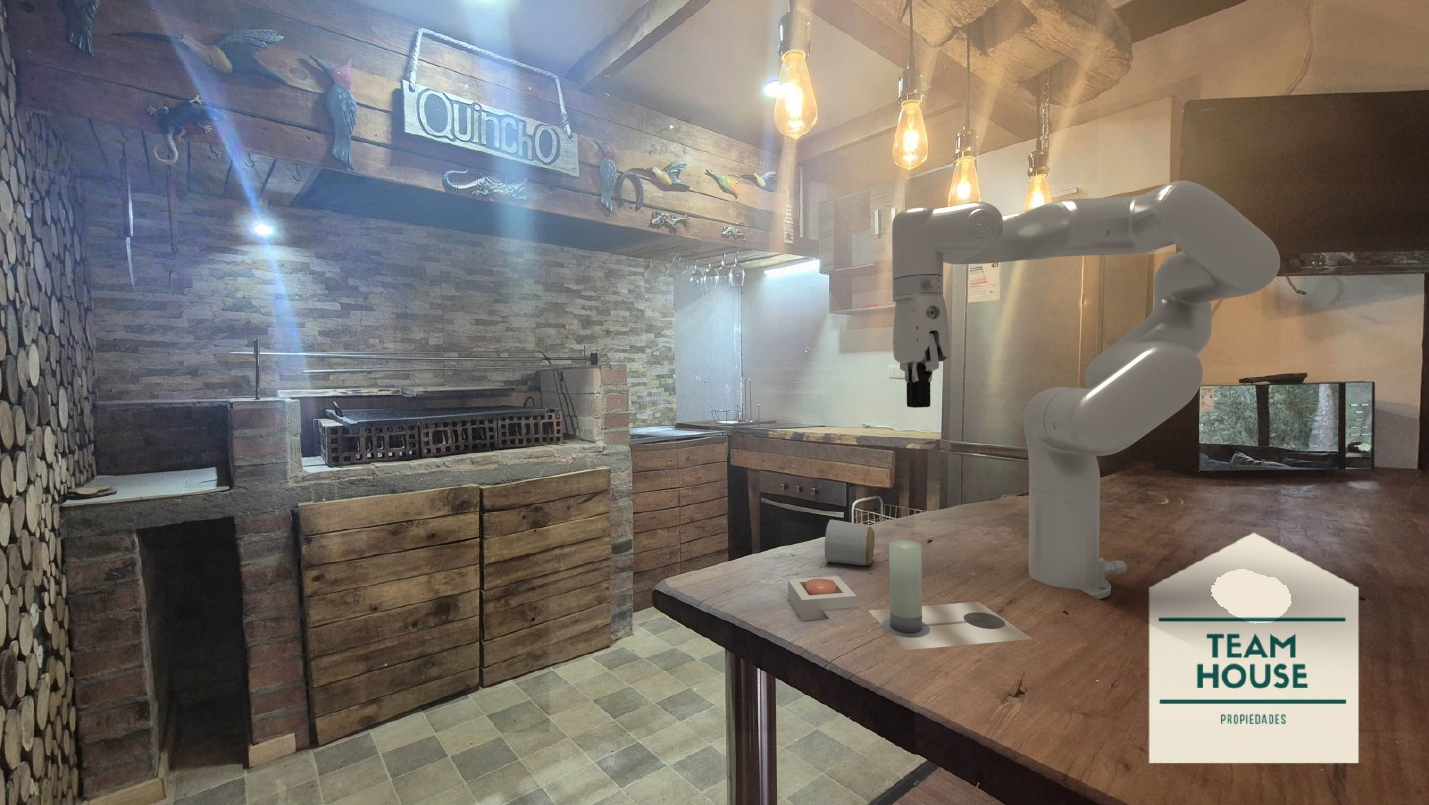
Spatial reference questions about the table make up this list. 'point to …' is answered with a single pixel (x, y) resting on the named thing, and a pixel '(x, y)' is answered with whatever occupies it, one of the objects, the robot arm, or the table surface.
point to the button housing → (819, 598)
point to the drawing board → (953, 626)
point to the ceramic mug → (849, 543)
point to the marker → (905, 586)
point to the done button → (820, 587)
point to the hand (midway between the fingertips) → (918, 406)
